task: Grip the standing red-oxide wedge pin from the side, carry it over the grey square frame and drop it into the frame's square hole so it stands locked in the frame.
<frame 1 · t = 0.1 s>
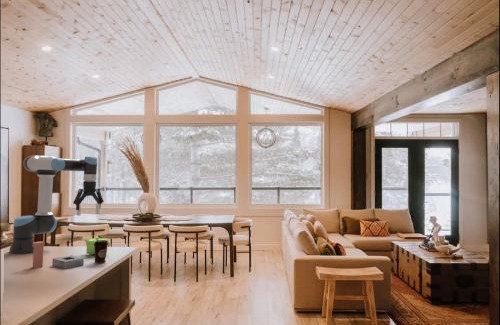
hand: (88, 214, 250), 28 cm above the kitchen island, tool pointing down, fingers open, 13 cm apart
coffee cup: (100, 262, 243), on the kitchen island
kettle: (95, 254, 265), on the kitchen island
grey square frame: (68, 265, 233), on the kitchen island
wedge pin: (37, 266, 227), on the kitchen island
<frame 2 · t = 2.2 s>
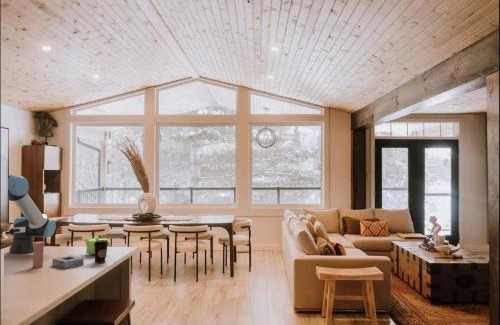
hand: (18, 228, 223), 22 cm above the kitchen island, tool horizontal, fingers open, 13 cm apart
nothing on the kitchen island moved.
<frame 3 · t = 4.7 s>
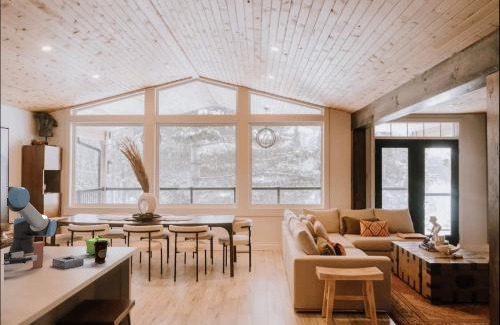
hand: (30, 255, 222), 7 cm above the kitchen island, tool horizontal, fingers open, 13 cm apart
nothing on the kitchen island moved.
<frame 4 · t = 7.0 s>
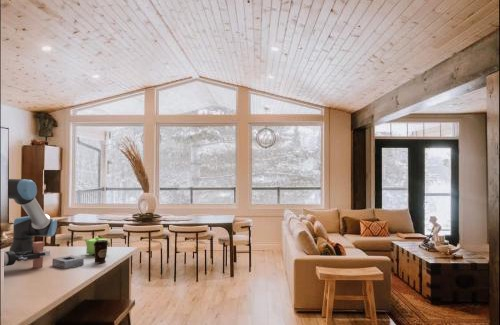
hand: (47, 252, 231), 8 cm above the kitchen island, tool horizontal, fingers closed on wedge pin, 4 cm apart
wedge pin: (37, 266, 227), on the kitchen island, touching gripper
everything else where it was.
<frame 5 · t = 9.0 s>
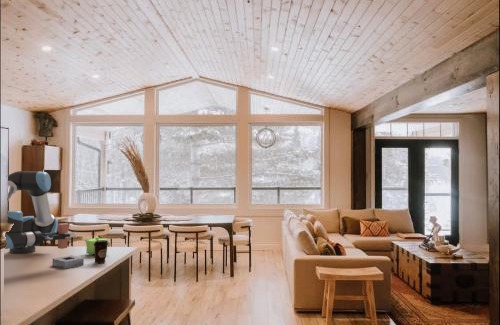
hand: (71, 233, 236), 18 cm above the kitchen island, tool horizontal, fingers closed on wedge pin, 4 cm apart
wedge pin: (62, 247, 231), point 10 cm above the kitchen island, touching gripper
everything else where it was.
when the fingers open (10 cm above the kitchen island, at t = 11.2 s): wedge pin drops 3 cm, resting in grey square frame.
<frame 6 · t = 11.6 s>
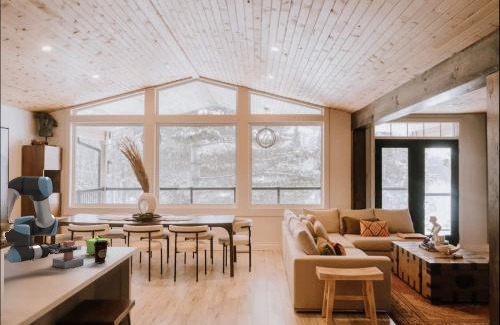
hand: (75, 246, 237), 10 cm above the kitchen island, tool horizontal, fingers open, 9 cm apart
wedge pin: (67, 265, 233), resting in grey square frame
everything else where it was.
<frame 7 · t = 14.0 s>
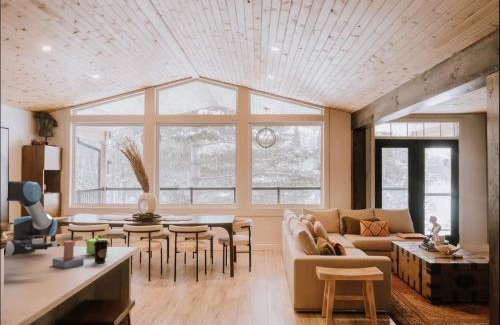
hand: (49, 242, 225), 15 cm above the kitchen island, tool horizontal, fingers open, 13 cm apart
nothing on the kitchen island moved.
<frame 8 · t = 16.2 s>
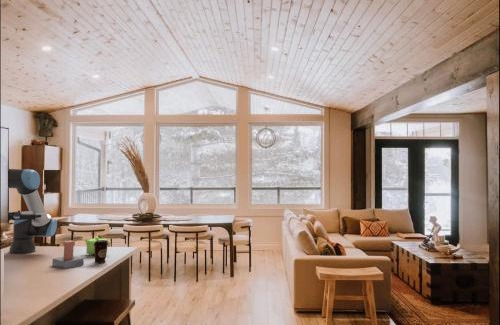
hand: (39, 214, 227), 30 cm above the kitchen island, tool horizontal, fingers open, 13 cm apart
nothing on the kitchen island moved.
at the end: wedge pin 0.0 cm off-centre on the grey square frame, point 0.0 cm above the grey square frame's base; wedge pin tilted 0°; the gripper is holding nothing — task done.
